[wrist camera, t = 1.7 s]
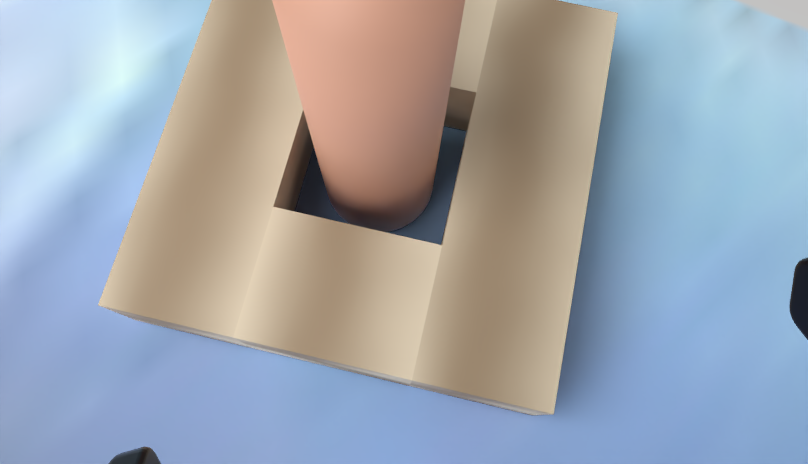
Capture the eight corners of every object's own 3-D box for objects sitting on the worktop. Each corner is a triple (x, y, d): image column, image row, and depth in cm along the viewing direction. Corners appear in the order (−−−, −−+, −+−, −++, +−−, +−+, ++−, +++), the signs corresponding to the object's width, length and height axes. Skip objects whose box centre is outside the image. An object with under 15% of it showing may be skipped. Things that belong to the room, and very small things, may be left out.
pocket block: (592, 59, 26) (617, 12, 23) (532, 415, 22) (553, 414, 19) (253, -13, 26) (236, -67, 23) (135, 320, 22) (98, 305, 19)
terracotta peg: (443, 144, 24) (488, -103, 13) (419, 243, 23) (447, 68, 12) (341, 122, 25) (296, -142, 13) (313, 218, 24) (237, 23, 12)
